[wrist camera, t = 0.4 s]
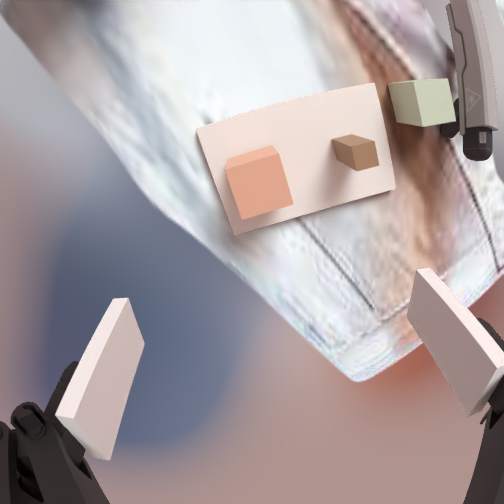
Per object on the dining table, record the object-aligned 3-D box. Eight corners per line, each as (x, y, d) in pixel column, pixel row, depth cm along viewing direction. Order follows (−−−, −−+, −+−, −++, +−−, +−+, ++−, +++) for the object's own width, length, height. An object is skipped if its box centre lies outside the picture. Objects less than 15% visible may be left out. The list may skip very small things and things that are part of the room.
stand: (197, 128, 34) (184, 134, 26) (370, 83, 32) (404, 79, 24) (234, 232, 40) (233, 264, 32) (392, 186, 38) (425, 207, 30)
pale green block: (387, 83, 32) (413, 81, 26) (419, 79, 31) (447, 78, 25) (396, 122, 34) (422, 126, 28) (427, 116, 34) (456, 121, 28)
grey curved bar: (439, 159, 35) (487, 158, 26) (428, 9, 30) (463, -16, 20) (451, 162, 35) (500, 163, 26) (440, 14, 30) (476, -8, 20)
